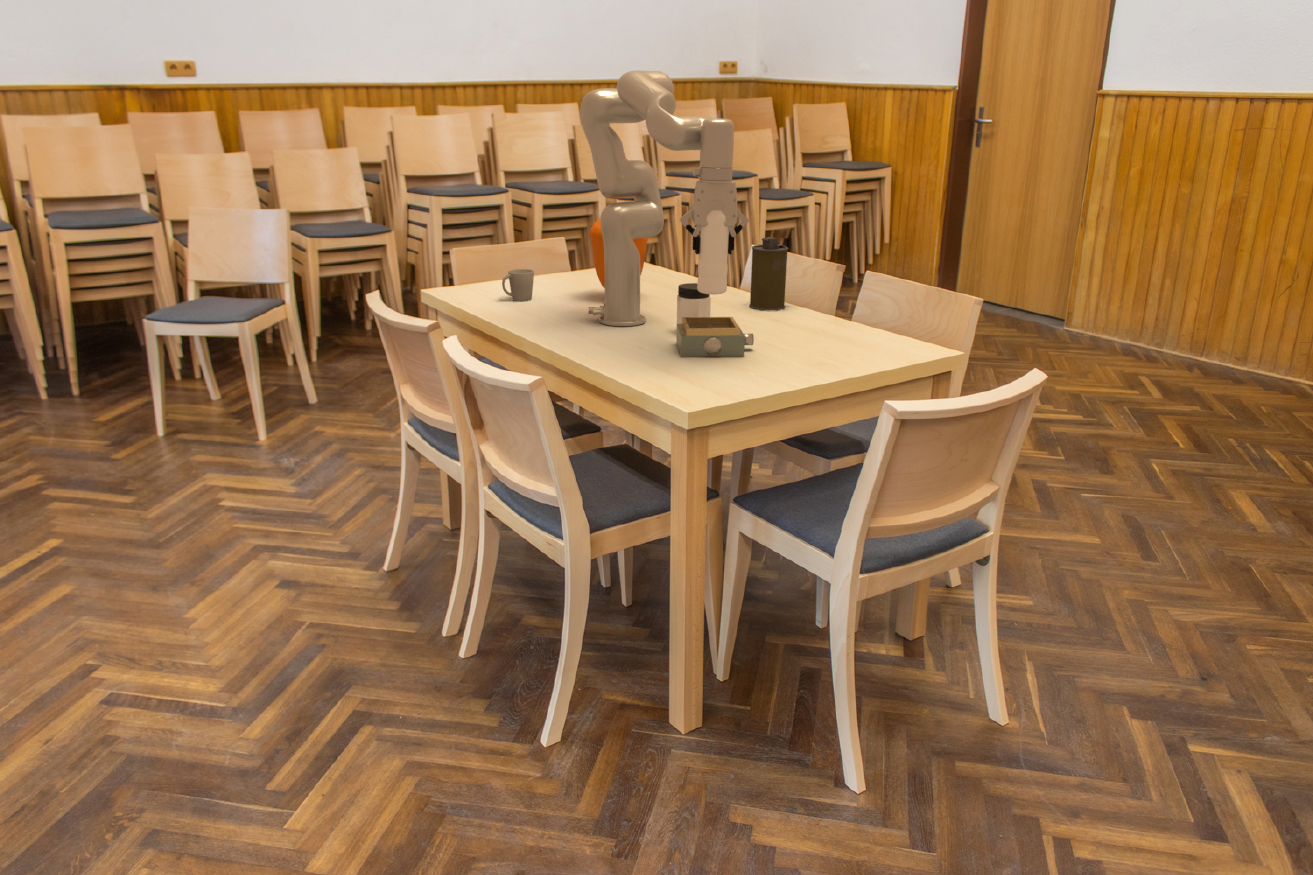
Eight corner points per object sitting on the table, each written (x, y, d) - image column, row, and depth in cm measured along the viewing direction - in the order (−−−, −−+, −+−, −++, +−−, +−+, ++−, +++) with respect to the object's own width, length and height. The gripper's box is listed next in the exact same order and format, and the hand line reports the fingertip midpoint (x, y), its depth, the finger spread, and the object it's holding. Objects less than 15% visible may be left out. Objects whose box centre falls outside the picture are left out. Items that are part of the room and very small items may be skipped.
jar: (672, 333, 251) (672, 287, 247) (680, 327, 258) (681, 282, 254) (705, 336, 248) (706, 290, 244) (713, 329, 256) (714, 284, 252)
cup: (539, 300, 289) (538, 271, 286) (509, 304, 284) (508, 275, 281) (527, 296, 295) (526, 268, 292) (497, 299, 290) (496, 271, 287)
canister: (768, 312, 276) (771, 241, 269) (741, 306, 283) (744, 237, 277) (793, 307, 283) (797, 238, 276) (767, 301, 290) (770, 234, 283)
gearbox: (681, 357, 228) (681, 329, 226) (676, 343, 241) (676, 317, 239) (757, 356, 230) (758, 329, 227) (748, 342, 242) (749, 316, 240)
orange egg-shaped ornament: (658, 300, 290) (659, 215, 282) (609, 307, 281) (609, 219, 273) (627, 291, 304) (627, 209, 295) (580, 297, 295) (578, 213, 286)
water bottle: (724, 295, 227) (729, 186, 219) (694, 294, 228) (698, 185, 220) (728, 289, 234) (732, 183, 225) (699, 288, 235) (702, 182, 226)
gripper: (679, 176, 218) (677, 256, 224) (756, 177, 219) (752, 256, 225) (676, 173, 225) (674, 250, 231) (750, 174, 226) (746, 251, 232)
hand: (713, 252), depth 228 cm, fingers closed on water bottle, 7 cm apart
